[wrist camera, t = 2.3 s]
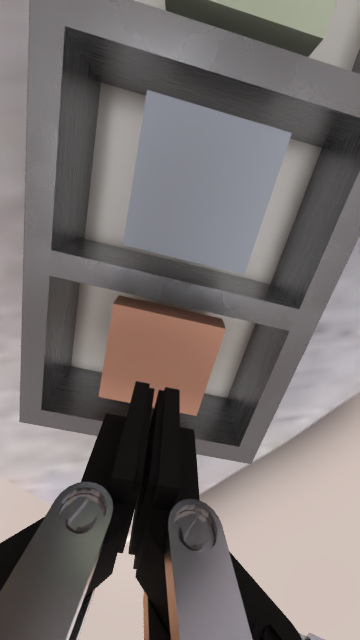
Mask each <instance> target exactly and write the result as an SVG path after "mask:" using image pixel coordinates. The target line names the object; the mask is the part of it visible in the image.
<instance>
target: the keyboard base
mask: <svg viewBox="0 0 360 640" xmlns="http://www.w3.org/2000/svg"><path fill="white" fill-rule="evenodd" d="M135 1H138V2H141V3H144V4H147V5H150V6H153V7H156V8H159V9H162V10H165V11H166V8H165V0H135ZM359 49H360V0H337V1H336V4H335V7H334V10H333V13H332V16H331V19H330V22H329V25H328V28H327V31H326V34H325V37H324V39H323V40H322V42H321V43H320V44H319V45H318V46H317V47H316V49H315V50H314V51H313V52H312V53H311V54H310V56H309V58H312V59H315V60H318V61H321V62H324V63H328V64H331V65H334V66H337V67H340V68H343V69H346V70H349V71H352V68H353V65H354V63H355V60H356V57H357V55H358V52H359ZM145 100H146V96H145V95H142V94H139V93H135V92H132V91H129V90H125V89H122V88H118V87H115V86H112V85H108V84H105V83H102V82H101V88H100V98H99V107H98V116H97V126H96V135H95V145H94V154H93V164H92V173H91V183H90V192H89V201H88V211H87V220H86V230H85V239H88V240H92V241H96V242H100V243H104V244H108V245H112V246H116V247H120V248H124V249H129V250H133V251H137V252H141V253H145V254H149V255H153V256H157V257H161V258H165V259H169V260H174V261H178V262H182V263H186V264H190V265H194V266H198V267H202V268H206V269H210V270H214V271H218V272H223V273H227V274H231V275H235V276H239V277H243V278H247V279H251V280H255V281H259V282H263V283H267V284H271V281H272V279H273V276H274V273H275V271H276V268H277V265H278V263H279V260H280V258H281V255H282V252H283V250H284V247H285V244H286V242H287V239H288V237H289V234H290V231H291V229H292V226H293V223H294V221H295V218H296V215H297V213H298V210H299V208H300V205H301V202H302V200H303V197H304V194H305V192H306V189H307V186H308V184H309V181H310V179H311V176H312V173H313V171H314V168H315V165H316V163H317V160H318V157H319V155H320V152H321V150H322V148H321V147H317V146H314V145H311V144H307V143H304V142H300V141H297V140H294V139H290V141H289V144H288V147H287V150H286V153H285V156H284V159H283V161H282V164H281V167H280V170H279V173H278V176H277V179H276V182H275V185H274V188H273V191H272V194H271V197H270V200H269V203H268V206H267V209H266V212H265V215H264V218H263V221H262V224H261V227H260V230H259V233H258V236H257V239H256V241H255V244H254V247H253V250H252V253H251V256H250V259H249V262H248V265H247V268H246V271H245V274H240V273H236V272H232V271H228V270H224V269H220V268H216V267H212V266H207V265H203V264H199V263H195V262H191V261H187V260H183V259H179V258H175V257H171V256H167V255H163V254H159V253H155V252H151V251H146V250H142V249H138V248H134V247H130V246H126V245H123V239H124V233H125V226H126V220H127V214H128V208H129V201H130V195H131V189H132V182H133V176H134V170H135V163H136V157H137V151H138V144H139V138H140V132H141V126H142V119H143V113H144V107H145ZM119 295H121V296H126V297H130V298H134V299H139V300H143V301H147V302H152V303H156V304H160V305H165V306H169V307H174V308H178V309H182V310H187V311H191V312H195V313H200V314H204V315H208V316H213V317H217V318H222V320H223V322H224V325H225V328H226V330H225V333H224V336H223V339H222V342H221V345H220V348H219V351H218V354H217V357H216V360H215V363H214V366H213V369H212V372H211V375H210V378H209V381H208V384H207V387H206V390H205V394H210V395H215V396H220V397H225V398H227V397H228V395H229V392H230V389H231V387H232V384H233V381H234V379H235V376H236V373H237V371H238V368H239V366H240V363H241V360H242V358H243V355H244V352H245V350H246V347H247V345H248V342H249V339H250V337H251V334H252V331H253V329H254V326H255V323H253V322H249V321H244V320H240V319H236V318H231V317H227V316H223V315H218V314H214V313H210V312H205V311H201V310H197V309H192V308H188V307H184V306H179V305H175V304H171V303H166V302H162V301H158V300H153V299H149V298H145V297H140V296H136V295H132V294H127V293H123V292H119V291H114V290H110V289H106V288H101V287H97V286H92V285H88V284H84V283H80V286H79V296H78V305H77V315H76V324H75V334H74V343H73V352H72V362H71V366H72V367H77V368H82V369H87V370H92V371H97V372H103V365H104V359H105V353H106V346H107V340H108V334H109V327H110V321H111V315H112V309H113V303H114V302H115V300H116V299H117V297H118V296H119Z"/></svg>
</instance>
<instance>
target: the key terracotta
mask: <svg viewBox="0 0 360 640" xmlns="http://www.w3.org/2000/svg"><path fill="white" fill-rule="evenodd" d="M225 330H226V328H225V325H224V322H223V320H222V318H217V317H213V316H208V315H204V314H200V313H195V312H191V311H187V310H182V309H178V308H174V307H169V306H165V305H160V304H156V303H152V302H147V301H143V300H139V299H134V298H130V297H126V296H121V295H119V296H118V297H117V299H116V300H115V302H114V303H113V309H112V315H111V321H110V327H109V334H108V340H107V346H106V353H105V359H104V365H103V372H102V378H101V384H100V391H99V397H102V398H107V399H112V400H117V401H122V402H127V403H130V402H131V398H132V394H133V390H134V386H135V382H136V381H139V382H144V383H149V384H150V387H149V388H154V389H155V391H154V398H153V405H152V407H153V408H154V407H155V403H156V399H157V395H158V391H159V390H164V389H165V387H169V388H174V389H179V390H180V413H184V414H189V415H194V416H197V413H198V410H199V407H200V404H201V401H202V399H203V396H204V393H205V390H206V387H207V384H208V381H209V378H210V375H211V372H212V369H213V366H214V363H215V360H216V357H217V354H218V351H219V348H220V345H221V342H222V339H223V336H224V333H225Z"/></svg>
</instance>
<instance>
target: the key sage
mask: <svg viewBox="0 0 360 640" xmlns="http://www.w3.org/2000/svg"><path fill="white" fill-rule="evenodd" d="M336 1H337V0H165V8H166V11H168V12H171V13H175V14H178V15H181V16H184V17H187V18H190V19H193V20H196V21H199V22H202V23H205V24H208V25H211V26H214V27H217V28H220V29H223V30H227V31H230V32H233V33H236V34H239V35H242V36H245V37H248V38H251V39H254V40H257V41H260V42H263V43H266V44H269V45H272V46H276V47H279V48H282V49H285V50H288V51H291V52H294V53H297V54H300V55H303V56H306V57H309V56H310V54H311V53H312V52H313V51H314V50H315V49H316V47H317V46H318V45H319V44H320V43H321V42H322V40H323V39H324V37H325V34H326V31H327V28H328V25H329V22H330V19H331V16H332V13H333V10H334V7H335V4H336Z"/></svg>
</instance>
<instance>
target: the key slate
mask: <svg viewBox="0 0 360 640" xmlns="http://www.w3.org/2000/svg"><path fill="white" fill-rule="evenodd" d="M291 135H292V133H290V132H287V131H284V130H280V129H277V128H273V127H270V126H267V125H263V124H260V123H257V122H253V121H250V120H247V119H243V118H240V117H237V116H233V115H230V114H227V113H223V112H220V111H217V110H213V109H210V108H207V107H203V106H200V105H196V104H193V103H190V102H186V101H183V100H180V99H176V98H173V97H170V96H166V95H163V94H160V93H156V92H153V91H150V90H147V94H146V100H145V107H144V113H143V119H142V126H141V132H140V138H139V144H138V151H137V157H136V163H135V170H134V176H133V182H132V189H131V195H130V201H129V208H128V214H127V220H126V226H125V233H124V239H123V245H126V246H130V247H134V248H138V249H142V250H146V251H151V252H155V253H159V254H163V255H167V256H171V257H175V258H179V259H183V260H187V261H191V262H195V263H199V264H203V265H207V266H212V267H216V268H220V269H224V270H228V271H232V272H236V273H240V274H245V271H246V268H247V265H248V262H249V259H250V256H251V253H252V250H253V247H254V244H255V241H256V239H257V236H258V233H259V230H260V227H261V224H262V221H263V218H264V215H265V212H266V209H267V206H268V203H269V200H270V197H271V194H272V191H273V188H274V185H275V182H276V179H277V176H278V173H279V170H280V167H281V164H282V161H283V159H284V156H285V153H286V150H287V147H288V144H289V141H290V138H291Z"/></svg>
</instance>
